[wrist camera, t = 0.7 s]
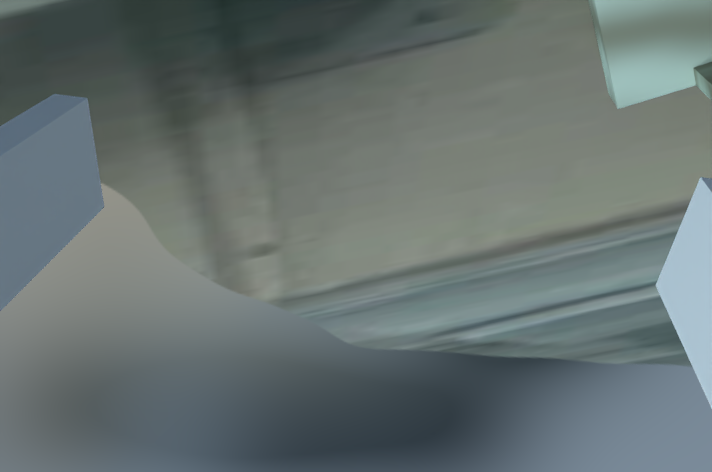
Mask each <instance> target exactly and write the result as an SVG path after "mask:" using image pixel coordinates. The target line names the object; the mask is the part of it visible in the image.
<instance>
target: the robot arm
mask: <svg viewBox="0 0 712 472" xmlns="http://www.w3.org/2000/svg"><path fill="white" fill-rule="evenodd" d="M103 208H104V202H103V196H102V189H101V183H100V176H99V170H98V163H97V157H96V150H95V144H94V138H93V131H92V125H91V118H90V112H89V105H88V99H87V98H81V97H74V96H66V95H58V94H54V95H52V96H50V97H49V98H47V99H45V100H44V101H42V102H40V103H39V104H37V105H35V106H34V107H32V108H30V109H29V110H27V111H25V112H24V113H22V114H20V115H19V116H17V117H15V118H14V119H12V120H10V121H9V122H7V123H5V124H4V125H2V126H0V311H1V310H2V309H3V308H4V307H5V306H6V305H7V304H8V303H9V302H10V301H11V300H12V299H13V298H14V297H15V296H16V295H17V294H18V293H19V292H20V291H21V290H22V289H23V288H24V287H25V286H26V285H27V284H28V283H29V282H30V281H31V280H32V279H33V278H34V277H35V276H36V275H37V274H38V273H39V272H40V271H41V270H42V269H43V268H44V267H45V266H46V265H47V264H48V263H49V262H50V261H51V260H52V259H53V258H54V257H55V256H56V255H57V254H58V253H59V252H60V251H61V250H62V249H63V248H64V247H65V246H66V245H67V244H68V243H69V242H70V241H71V240H72V239H73V238H74V237H75V236H76V235H77V234H78V233H79V232H80V231H81V230H82V229H83V228H84V227H85V226H86V225H87V224H88V223H89V222H90V221H91V220H92V219H93V218H94V217H95V216H96V215H97V214H98V213H99V212H100V211H101V210H102V209H103ZM656 287H657V289H658V291H659V294H660V296H661V298H662V300H663V302H664V305H665V307H666V309H667V311H668V314H669V316H670V318H671V320H672V322H673V325H674V327H675V329H676V331H677V333H678V336H679V338H680V340H681V342H682V344H683V347H684V349H685V351H686V353H687V355H688V358H689V360H690V362H691V364H692V366H693V369H694V371H695V373H696V375H697V377H698V380H699V381H700V384H701V386H702V388H703V391H704V393H705V395H706V397H707V399H708V401H709V404H710V406H711V408H712V179H711V178H703V177H700V180H699V182H698V185H697V187H696V189H695V192H694V194H693V197H692V199H691V202H690V204H689V206H688V209H687V211H686V214H685V216H684V218H683V221H682V223H681V226H680V228H679V231H678V233H677V235H676V238H675V240H674V243H673V245H672V247H671V250H670V252H669V255H668V257H667V260H666V262H665V264H664V267H663V269H662V272H661V274H660V276H659V279H658V281H657V284H656Z"/></svg>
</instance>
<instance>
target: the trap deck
mask: <svg viewBox="0 0 712 472" xmlns="http://www.w3.org/2000/svg"><path fill="white" fill-rule="evenodd" d="M588 1H589V6H590V10H591V15H592V19H593V24H594V28H595V33H596V38H597V42H598V47H599V51H600V56H601V60H602V65H603V69H604V74H605V78H606V83H607V87H608V92H609V95H610V97H611V98H612V100H613V102H614V103H615V105H616V107H617V108H618V109H620V108H623V107H626V106H630V105H633V104H636V103H639V102H643V101H646V100H649V99H652V98H656V97H659V96H662V95H665V94H669V93H672V92H675V91H678V90H682V89H685V88H688V87H691V86H695V85H696V86H697V87H698V88H699V89H700V90H701V91H702V92H703V93H704V94H705V95H706V96H708V97H709V98H710V99H711V100H712V0H588Z"/></svg>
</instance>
